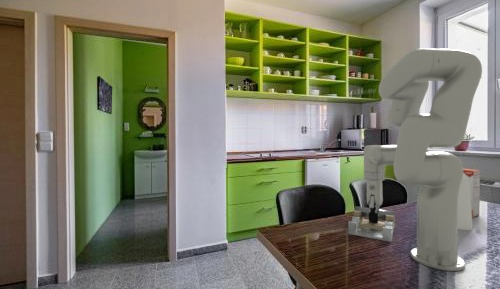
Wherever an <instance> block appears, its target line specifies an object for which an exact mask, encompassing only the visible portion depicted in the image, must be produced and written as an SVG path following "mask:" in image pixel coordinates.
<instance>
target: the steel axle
mask: <svg viewBox="0 0 500 289" xmlns="http://www.w3.org/2000/svg"><path fill="white" fill-rule="evenodd" d="M354 210H355V211H361V217H364V219H369V207H364V206H355V207H354ZM377 213H378V221H384V222H385V221H386V215H392V216H394V210H386V209H380V208H379V209H377Z"/></svg>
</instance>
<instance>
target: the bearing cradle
mask: <svg viewBox="0 0 500 289" xmlns="http://www.w3.org/2000/svg"><path fill="white" fill-rule="evenodd" d="M393 211H394V210H393ZM395 214H396V212H395V211H394V216H392V215H386V221H388V222H393V233H394V231H395V226H396V223H395V220H396V219H395V217H396V216H395ZM353 216H354V217H359V227H365V228H371V229H377V230H383V227H385V221H381V220H378V223H371V222H369V219H367V218H364V217H361V211H355V209H354V210H353Z"/></svg>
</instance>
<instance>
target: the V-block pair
mask: <svg viewBox="0 0 500 289" xmlns="http://www.w3.org/2000/svg"><path fill="white" fill-rule="evenodd" d="M384 222H385V227H383V230H377V229H371V228H365V227H359V217H354V215H353V216H352V218H351V221H349V220H348V225H347V226H348V227H347V228H348V232H347V234H348V235H353V236H357V237H359V236H360V237H362V238H369V239H374V240H380V241H384V242H390V243H392V240H393V236H394V232H393V222H388V221H385V220H384Z"/></svg>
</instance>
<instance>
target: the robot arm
mask: <svg viewBox="0 0 500 289" xmlns="http://www.w3.org/2000/svg"><path fill="white" fill-rule="evenodd" d="M482 73H483V66H482V63H481V60H480V58H478V56H476V55H475V54H474V53H471V52H470V51H465V50H462V49H461V50H460V49H453V48H452V49H450V48H425V47H424V48H416V49H413V50H411V51H409V52H407V53H406V54H405V55H404V56H403V57H402V58H400V60H398V61H397V62H396V63H395V64H394V65H393V66H392V67H391V68H390V69H389V70H388V71H387V72H386V73H385V74H384V76H383V77H382V79H381V80H380V83H379V86H378V94H379V96H380V97H381V99H383V100H387V101H388V100H390V101H391V103H390V107H389V108H388V112H387V114H386V120H387V121H388V122H389V123H390V124H392V125H393V126H396V127H398V128H399V131H398V135H397V141H396V144H386V145H385V144H383V145H382V144H381V145H379V144H372V145H371V144H370V145H365V146H364V148H363V180H365V181H366V204H367V205H368V206H369V207H368V208H369V218H368V220H369V222H371V223H378V221H379V220H378V213H377V209H380V207H381V206H382V204H383V201H384V198H383V197H384V196H383V181H385V180H386V179H385V178H386V177H385V174H386V170H385V166H393V167H392V168H393V174H394V178H395V179H396V181H397V182H398V183H400V184H401V185H404V186H409V187H416V186H417V187H418V186H421V187H420V189H419V191H418V194H417V201H416V202H417V203H416V247H415V248H412V249H411V250H410V256H411V258H412V259H413V260H414V261H416V262H417V263H419V264H422V265H423V266H427V267H429V268H432V269H436V270H441V271H445V272H446V271H447V272H455V271H456V272H459V271H462V270H464V269H465V268H466V262H465V260H464V259H462V257H460V256H459V255H458V253H459V251H458V249H459V248H458V246H459V244H458V243H459V236H458V235H459V233H458V232H459V229H458V199H459V189H460V184H461V181H462V177H463V169H464V166H463V162H462V160H461V159H460V158H459V157H458V156H457V155H455V154H453V153H451V152H447V151H438V150H437V151H428V149H449V148H454V147H457V146H459V145H460V144H462V142H463V140H464V138H465V135H466V132H467V127H468V123H469V119H470V115H471V111H472V105H473V101H474V98H475V94H476V91H477V89H478V87H479V84H480V81H481V78H482V75H483V74H482ZM429 82H443V84H442V85H441V86H440V87H439V88H438V89H437V91H436V92H435V94H434V96H433V98H432V102H431V107H430V111H429V113H419V111H420V108H421V106H422V104H423V101H424V99H425V96H426V94H427V92H428V89H429V86H430V85H429V84H430V83H429Z"/></svg>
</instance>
